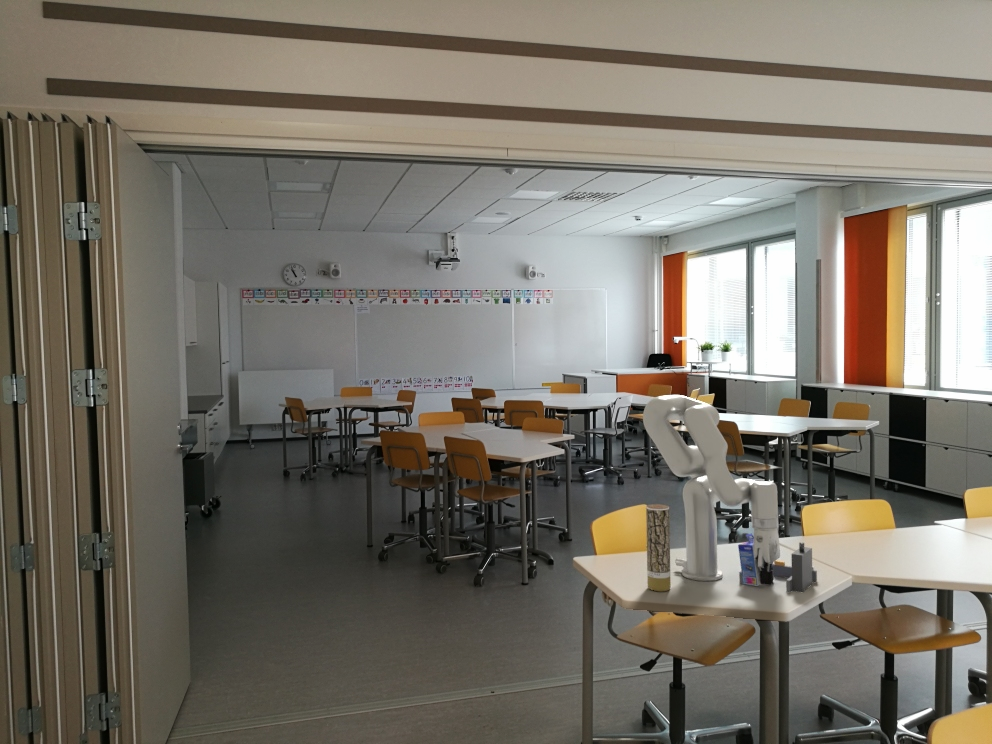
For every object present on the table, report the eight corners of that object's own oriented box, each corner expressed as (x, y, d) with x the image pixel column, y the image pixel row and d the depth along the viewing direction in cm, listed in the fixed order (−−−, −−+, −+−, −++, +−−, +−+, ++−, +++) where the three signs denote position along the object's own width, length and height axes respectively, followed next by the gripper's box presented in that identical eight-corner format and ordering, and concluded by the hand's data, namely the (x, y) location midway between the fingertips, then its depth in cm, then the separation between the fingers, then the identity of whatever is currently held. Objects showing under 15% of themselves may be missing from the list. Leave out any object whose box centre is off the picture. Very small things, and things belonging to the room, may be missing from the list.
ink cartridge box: (758, 578, 224) (753, 531, 226) (774, 580, 220) (769, 532, 221) (741, 584, 218) (736, 536, 219) (757, 586, 214) (752, 537, 215)
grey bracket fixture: (739, 583, 219) (738, 539, 219) (756, 571, 231) (755, 530, 231) (802, 594, 208) (801, 548, 207) (817, 581, 219) (816, 538, 219)
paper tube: (666, 593, 211) (664, 509, 211) (644, 590, 215) (642, 507, 214) (673, 587, 217) (672, 505, 217) (652, 584, 220) (650, 503, 220)
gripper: (768, 529, 206) (771, 592, 206) (785, 519, 218) (787, 579, 218) (743, 526, 211) (745, 588, 211) (761, 517, 223) (763, 575, 223)
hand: (766, 583), depth 214 cm, fingers closed
